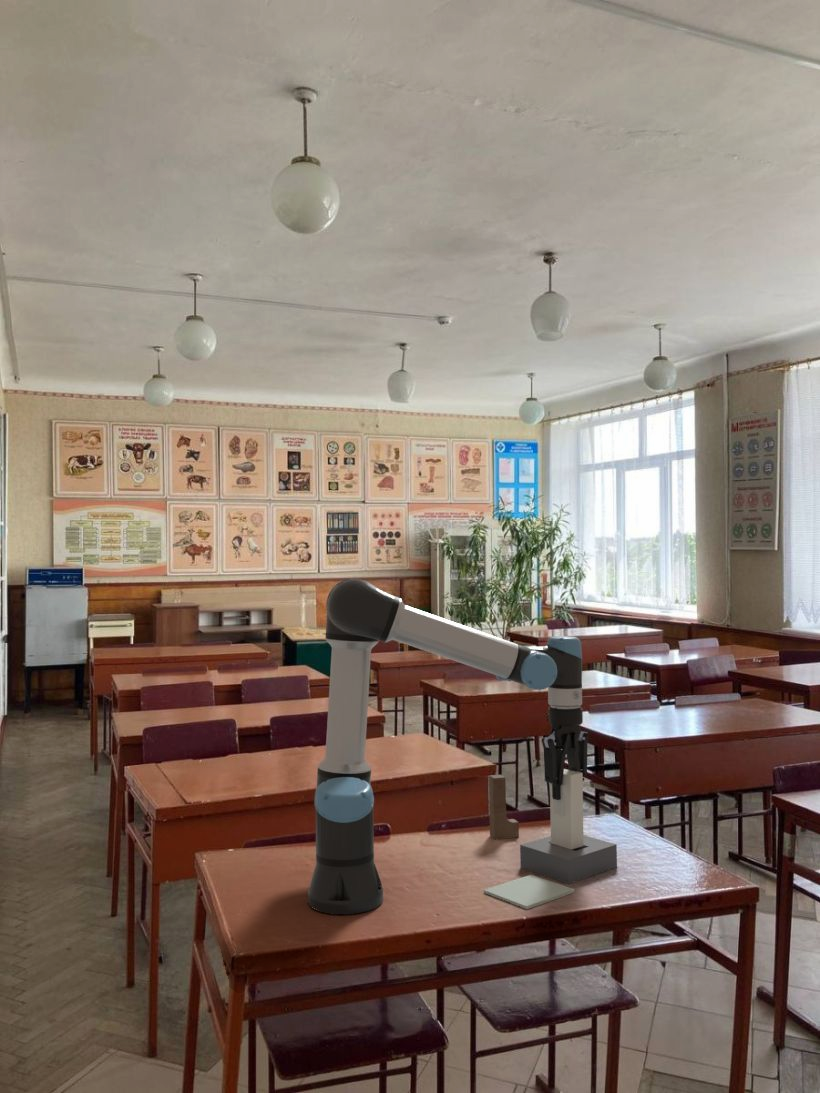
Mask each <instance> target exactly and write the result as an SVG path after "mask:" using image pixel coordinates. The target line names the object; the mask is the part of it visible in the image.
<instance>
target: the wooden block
mask: <svg viewBox="0 0 820 1093" xmlns="http://www.w3.org/2000/svg"><path fill="white" fill-rule="evenodd" d="M506 784H507V783H506V777H505V776H504V775H502V774H493V775H491V774H490V775H488V799H489V800H488V803H489V809H488V810H489V837H490V838H492V839H494V840H503V839H511V838H519V836H520V833H519V832H520V828H519V827H520V825H519V821H517V819H514V818H508V817H507V796H506V794H507V793H506V792H507V789H506V788H507V786H506Z"/></svg>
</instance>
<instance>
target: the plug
mask: <svg viewBox="0 0 820 1093" xmlns="http://www.w3.org/2000/svg"><path fill="white" fill-rule="evenodd" d="M583 778H584V777H583V773H581V772H576V771H572V770H569V769H566V768H564V773H563V781H562V785H565V815H559V814H556V813H554V799H553V797H552V784H551V783H549V801H550V802H549V806H550V807H549V809H550V810H549V812H550V836H551V843H552V844H555V845H558V846H562V847H565V848H568V849H571V850H572V849H575V848H578V847H582V846H583V835H584V791H583V790H584V787H583V785H584V783H583V782H584V781H583Z"/></svg>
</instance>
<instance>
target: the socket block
mask: <svg viewBox="0 0 820 1093" xmlns="http://www.w3.org/2000/svg"><path fill="white" fill-rule="evenodd" d="M617 845H618V844H616V843H613V842H610V841H605V840H603V839H602V840H601V839H598V838H595V837H591V836H588V835H584V834H583V846H582V847H578V848H575V849H572V850H571V849H568V848H565V847H562V846H558V845H555V844H552V843H551V835H549V836H546V837H542V838H540V839H535V840H532V841H528V842H525V843H522V844H520V845H519V850H520V852H519V853H520V859H519V860H520V869H524V870H527V871H530V872H533V873H536V874H538V875H541V876H545V877H548V878H550V879H554V880H557V881H559V882H562V883H565V884H569V885H570V884H573V883H576V882H578V881H581V880H584V879H587V878H591V877H592V876H595V875H598V874H601V873H605V872H607V871H610V870H612V869H616V868H618V855H617V854H618V853H617V848H618V847H617Z"/></svg>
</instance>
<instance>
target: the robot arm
mask: <svg viewBox="0 0 820 1093" xmlns="http://www.w3.org/2000/svg"><path fill="white" fill-rule="evenodd" d="M325 604H326V607H325V608H326V622H325V624H326V625H325V641H326V642H327V643H328V644H329V646H330V647H331V654H330V655H331V656H330V674H329V687H328V688H329V692H328V708H327V720H326V721H327V726H326V740H325V741H326V742H325V757H324V758H323V759H322V761H320V763H318V764H317V773H316V788H315V792H314V801H313V802H314V808H315V866H314V869H313V872H312V876H311V880H310V883H309V887H308V890H307V904H308V903H309V905H310V906H311V907H313V908H315V909H317V910H319V911H322V912H326V913H325V914H327V913H333V914H332V915H337V914H345V915H355V913H356V914H361V913H366V912H368V911H371V910H374V909H376V908H378V907H379V906H381V905H382V904H383V902H384V887H383V884H382V881H381V878H380V875H379V872H378V869H377V867H376V863H375V851H374V850H375V848H374V847H375V846H374V842H375V840H374V836H375V835H374V830H375V829H374V804H375V797H374V792H373V788H372V785H371V781H372V780H371V778H372V777H371V776H372V766H371V765H370V764H369V763H368V762H367V760H366V743H367V728H368V727H367V726H368V708H369V692H370V676H371V675H370V674H371V673H370V672H371V656H372V655H371V654H372V649H373V648H374V647H375V646H376V645H377V644H378V643H379V642H383V643H389V642H391V641H394V642H398V643H401V644H405V645H406V646H410V647H413V648H416V649H419V650H422V651H425V652H428V653H430V654H434V655H436V656H439V657H442V658H445V659H448V660H452V661H454V662H456V663H460V664H463V665H466V666H469V667H472V668H474V669H478V670H480V671H484V672H485V673H486V672H487V673H488V674H492V675H495V677H496V679H498V681H505V682H506V681H508V682H512V681H513V682H515V683H518V684H521V685H523V686H526V687H527V688H528V689H532V690H537V691H538V690H539V691H540V690H546V689H547V703H548V705H549V707H548V713H547V714H548V716H547V717H548V723H549V724H550V725H551V729H550V733H549V736H547V737H542V738H541V744H542V747H543V762H544V763H543V764H544V766H543V767H544V781H545V782H546V783H548V784H550V783H551V784H552V797H553V799H554V813H556V814H559V815H565V785H562V781H563V773H564V769H565V763H566V759H567V764H568V770H572V771H576V772H581V773H583V782H585V778H586V777H587V776H588V742H589V737H590V732H586V731H582V729H581V727H580V726H581V725H582V724H583V723H584V722H583V720H584V719H583V718H584V717H583V716H584V714H583V712H584V711H583V708H582V707H581V706H582V705H583V659H584V658H583V653H582V652H583V650H582V649H583V648H582V642H581V640H580V638H578V637H577V636H567V635H564V636H561V635H559V636H550V637H548V638H547V642H546V645H541V646H530V645H529V646H528V645H527V646H524V645H520V644H517V643H516V642H512V641H509V640H507V639H504V638H500V637H498V636H495V635H492V634H490V633H486V632H484V631H480V630H478V629H475V628H472V627H470V626H467V625H465V624H464V625H463V624H461V623H458V622H454V621H452V620H449V619H446V618H444V617H441V616H437V615H436V614H431V613H429V612H427V611H423V610H421V609H418V608H414V607H412V606H409V605H406V604H405V603H404V601H403V600H402V598H401V597H398V596H395V595H392V594H390V593H388V592H386V591H384V590H382V589H380V588H378V587H376V586H375V585H374V584H372V583H371V582H368V581H367V580H364V579H360V578H347V579H343V580H341V581H340V582H337V584H336V585H334V586H333V587H332V588H331V590H330V591H329V594H328V595H327V598H326V603H325ZM309 905H308V906H309ZM310 906H309V907H310ZM311 907H310V908H311ZM319 911H318V912H319ZM322 912H321V913H322Z"/></svg>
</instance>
